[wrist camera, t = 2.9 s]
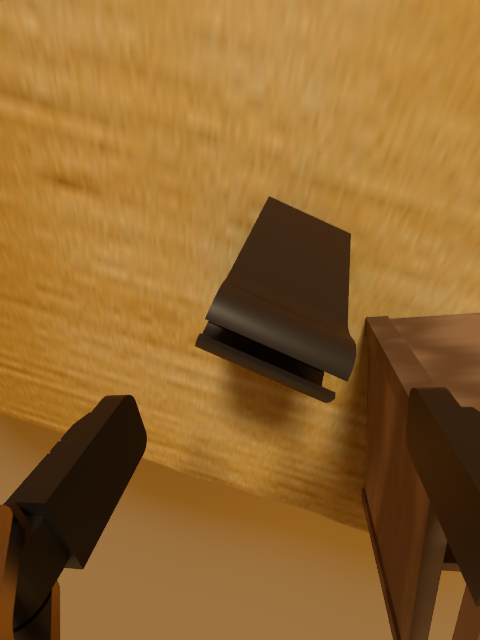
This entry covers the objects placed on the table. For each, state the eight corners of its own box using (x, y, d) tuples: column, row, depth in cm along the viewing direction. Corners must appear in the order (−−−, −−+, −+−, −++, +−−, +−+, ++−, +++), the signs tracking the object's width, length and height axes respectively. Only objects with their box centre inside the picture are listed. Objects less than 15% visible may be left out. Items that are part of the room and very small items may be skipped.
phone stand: (289, 338, 25) (289, 461, 14) (221, 307, 25) (167, 408, 14) (350, 233, 21) (414, 292, 10) (269, 195, 21) (246, 214, 10)
